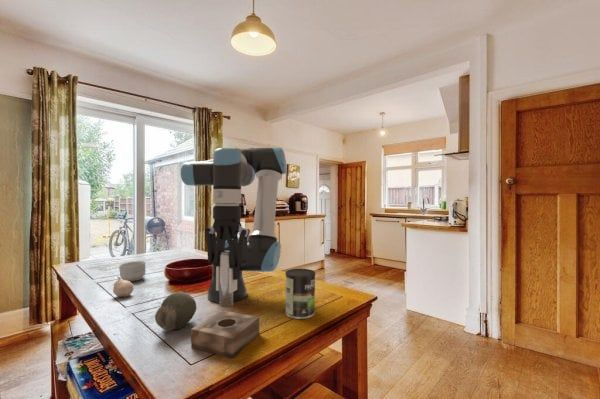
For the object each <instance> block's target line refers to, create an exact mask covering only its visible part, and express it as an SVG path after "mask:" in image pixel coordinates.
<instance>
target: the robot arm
mask: <svg viewBox="0 0 600 399" xmlns="http://www.w3.org/2000/svg"><path fill="white" fill-rule="evenodd" d="M287 168H288V167H287V160H286V156H285V151H284V149H283V148H282V147H275V146H272V147H245V148H243V149H237V148H233V147H232V148H231V147H220V148H217V149H215V150H214V151H213V158H211V159H207V160H202V161H189V162H188V161H187V162H184V163H183V164H182V165H181V168H180V178H181V181H182V182H183V184H185V185H186V186H193V187H194V186H195V187H196V186H197V187H198V186H200V187H201V186H212V187H213V189H212V196H213V197H212V202H213V204H214V206H213V207H212V219H213V220H214V222H213V223H212V226H210V227H205V228H204V233H205V235H206V246H207V247H206V248H207V250H206V252H207V263H208V264H212V275H211V276H212V277H211V280H210V284H209V288H208V291H207V299H208V301H210V302H214V303H218V304H220V254H221V251H230V258H231V265H232V266H231V267H230V268H229V293H232V292H233V303H234V302H238V301H240V300H243V299H245V298H246V297H247V294H248V293H247V291H248V290H247V287H246V283H245V280H244V277H243V272H262V273H265V272H266V273H267V272H269V273H271V272H273V271H275V270H276V269H277V267H278V264H279V262H280V257H281V249H282V248H281V243H280V242H279V241H278V237H277V236H276V235H275V224H276V223H275V221H276V213H277V212H276V210H277V200H278V188H279V181H281V180H282V177H283V175H285V174H286V173H287ZM255 178H256V179H258V181H257V191H256V200H255V210H254V217H253V227H252V232H251V230H250V229H249V228H247V229H246V228H245V227H243V226H242V223H241V219H242V207H241V206H240V205H241V204H242V187H247V186H250V185H251V184H252V183H253V182H254V180H255Z"/></svg>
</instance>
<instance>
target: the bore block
mask: <svg viewBox="0 0 600 399" xmlns="http://www.w3.org/2000/svg"><path fill="white" fill-rule="evenodd" d="M190 330H191V331H190V339H191V342H190V348H191V349H193V350H199V351H203V352H206V353H210V354H214V355H218V356H222V357H225V358H230V359H234V358H235V357H237V355H238V354H239V353H240V352H242V351H243V350H244V349H245V348H247V346H248V345H249V344H250V343H252V342H253V341H254V340H255V339H256V338H257V337H258V336H259V335H260V317H259V316H254V315H250V314H244V313H239V312H232V311H228V310H220V311H218V312H217V313H216V314H214V315H212V316H210V317H208V318H207V319H205V320H203V321H202V322H201V323H198V324H197V325H195V326H193V327H192V328H190Z"/></svg>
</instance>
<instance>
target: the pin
mask: <svg viewBox="0 0 600 399" xmlns="http://www.w3.org/2000/svg"><path fill="white" fill-rule="evenodd" d="M231 266H232V265H231V258H230V251H221V254H220V303H219V306H220V308H229V307H231V306H233V305H234V302H233V292H232V293H229V268H230V267H231Z"/></svg>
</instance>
